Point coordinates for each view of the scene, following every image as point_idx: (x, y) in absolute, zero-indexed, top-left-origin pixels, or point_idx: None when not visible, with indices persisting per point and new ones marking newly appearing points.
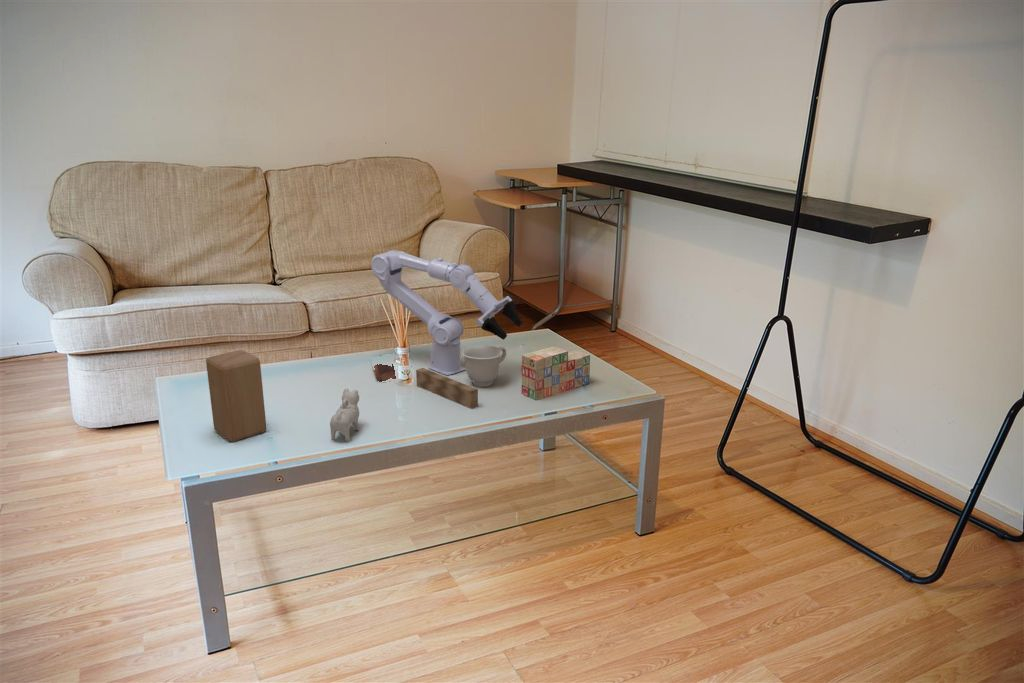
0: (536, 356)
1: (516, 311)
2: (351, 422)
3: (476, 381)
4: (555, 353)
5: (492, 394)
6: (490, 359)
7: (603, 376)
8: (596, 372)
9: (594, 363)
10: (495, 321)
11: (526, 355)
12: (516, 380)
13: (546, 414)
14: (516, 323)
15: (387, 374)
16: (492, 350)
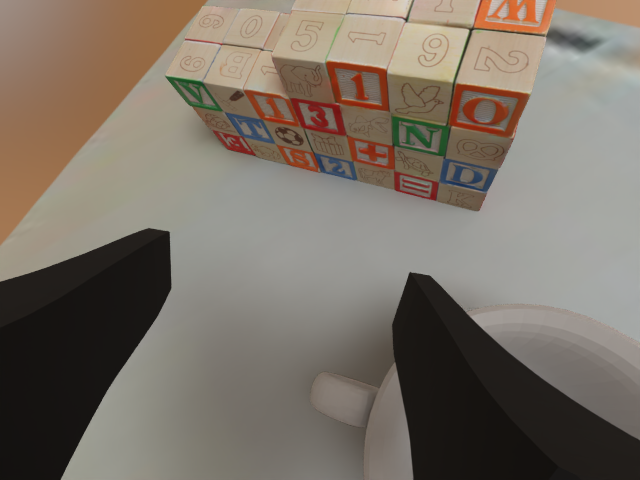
0: (491, 21)
1: (22, 277)
2: None
3: None
4: None
5: (572, 310)
6: (606, 337)
7: (175, 97)
8: (150, 129)
9: (75, 175)
10: (522, 405)
11: (522, 66)
12: (353, 312)
13: (588, 43)
14: (151, 304)
15: None
16: (389, 456)
